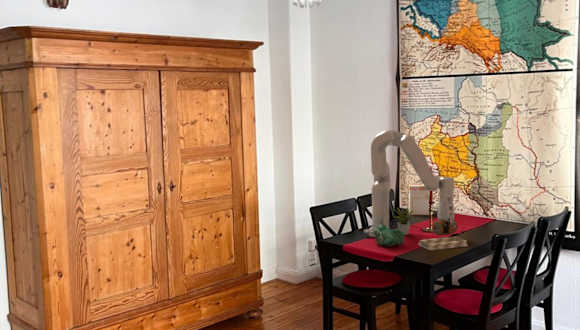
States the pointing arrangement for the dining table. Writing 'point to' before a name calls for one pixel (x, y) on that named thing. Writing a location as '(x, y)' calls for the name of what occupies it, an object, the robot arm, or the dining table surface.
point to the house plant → (404, 220)
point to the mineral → (388, 236)
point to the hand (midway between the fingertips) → (444, 231)
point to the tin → (439, 227)
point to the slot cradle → (443, 243)
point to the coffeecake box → (419, 199)
